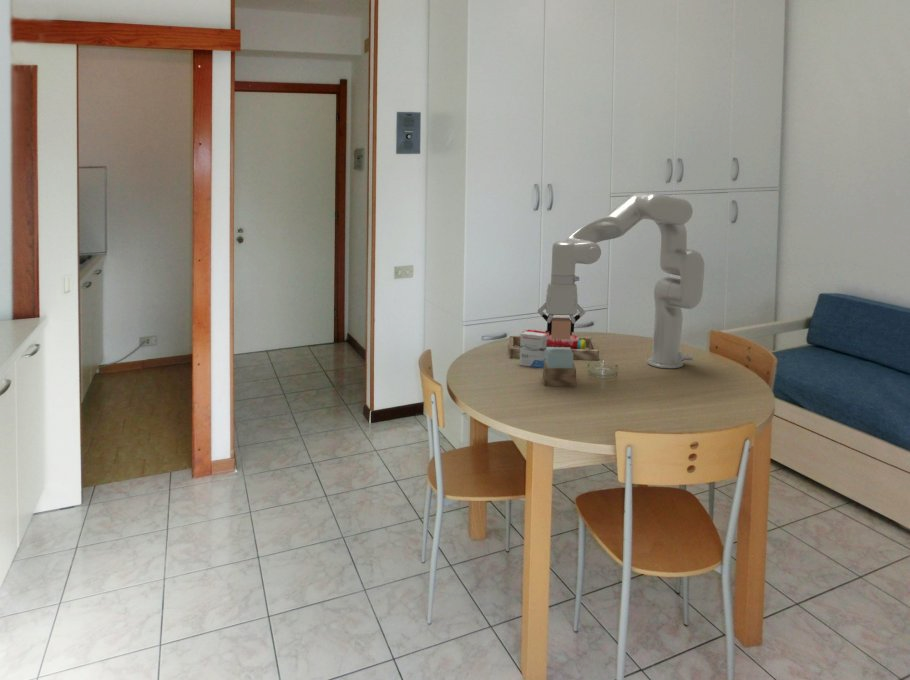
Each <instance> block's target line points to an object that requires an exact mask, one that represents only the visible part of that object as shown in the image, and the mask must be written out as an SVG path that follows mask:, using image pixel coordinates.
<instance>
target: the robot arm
mask: <svg viewBox="0 0 910 680" xmlns="http://www.w3.org/2000/svg"><path fill="white" fill-rule="evenodd" d="M693 211H694V210H693V207H692V204H691V203H690V202H689V201H688V200H687V199H685V198H678V197H674V196H669V195H665V194H661V193H654V192H653V193H650V192H636V193H632V194H631V195H630V196H628V197H627V198H626V199H625V200H623V201H622V202H621V203H620V204H619V205H617V206H616V207H615V208H614V209H613V210H611V211H610V212H609V213H608V214H606V215H605V216H603V217H601V218H598V219H595V220H594V221H592V222H589V223H588V224H585V225H583V226H582V227H580V228H579V229H576V231H575V232H573V233H572V234H571V235H570V236H569V237H567V239H566V240H561V241H560V240H559V241H555V242H554V243H553V244H552V249H551V252H552V255H551V269H550V270H551V274H550V282H549V283H548V284H547V289H546V296H545V297H546V298H545V303H544V304H542V306H541V307H539V308H538V309H537V313H538V315H540V316H541V317H542V318H543V320H544V321H545V322H546V330H547V332H549V335H551V331H552V322H551V319H552V317H554V316H569V318H570V320H571V331H570V335H573V333H575V323H576V322H577V321H579V319H580V318H582V317H583V316H584V315H585V314H586V311H585V310H584V309H583V308H582V307H581V305H579V303H578V286H577V283H576V282H579V281H580V276H578V275H577V276H576V265H577V264H580V265H581V264H584V265H592V264H594V263H596V262H598V261H599V259H600V258H601V255H602V249H601V247H600V246H599V244H598V243H599V242H600V243H601V242H602V241H608V240H615V239H618V238H621V237H622V236H624V235H625V234H627V233H628V232H629V231H630V230H631V229H633V227H635V226H636V225H637V224H638V223H639V222H641V221H642V220H652V221H653V222H654V223H655V224H656V225H657V226H658V229H659V231H660V254H659V255H660V256H659V258H660V259H659V266H660V269H661V271H662V272H664V273H666V274H670V275H673V276H674V275H675V276H677V277H680V278H676V277H671V276H668V277H667V276H665V277H662V278H660V279H659V280H658V281H656V283H655V285H654V289H653V297H654V298H653V299H654V308H655V309H654V310H655V311H654V312H655V313H654V324H653V335H652V336H653V337H652V338H653V339H652V351H651V356H650V357H648V358H647V359H646V360H647V362H646V363H647V364H648V365H650V366H652V367H655V368H661V369H678V368H682V367H683V366H684V361H694V355H693V354H688V353H681V343H682V342H681V341H682V331H683V330H682V329H683V318H684V317H683V316H684V315H683V311H682V309H686V310H692V309H695V308H696V307H697V306H699V304H700V302H701V300H702V297H703V291H704V289H703V288H704V277H705V260H704V258H703V257H704V256H703V255H702V254H701V253H700V252H699V251H697V250H695V249H689V248H688V247H687V245H688V244H687V241H688V240H687V239H688V234H687V228H686V225H685V224H687V223H688V222H689V221H690V219H692V217H693ZM544 311H546V313H545V312H544ZM547 314H548V315H547Z"/></svg>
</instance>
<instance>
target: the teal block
mask: <svg viewBox="0 0 910 680" xmlns="http://www.w3.org/2000/svg"><path fill="white" fill-rule="evenodd" d="M573 361H574V360H573V352H572V350H571V349H570V347H546V360H545V362H546V364H547V367H548V368H573Z"/></svg>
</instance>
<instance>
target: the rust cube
mask: <svg viewBox="0 0 910 680" xmlns="http://www.w3.org/2000/svg"><path fill="white" fill-rule="evenodd" d="M551 322H552V331H551V339H568V340H570V331H571V319H570V317H565V316H564V317H560V316H559V317H558V316H556V317H555V316H553V317H552V319H551Z"/></svg>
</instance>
